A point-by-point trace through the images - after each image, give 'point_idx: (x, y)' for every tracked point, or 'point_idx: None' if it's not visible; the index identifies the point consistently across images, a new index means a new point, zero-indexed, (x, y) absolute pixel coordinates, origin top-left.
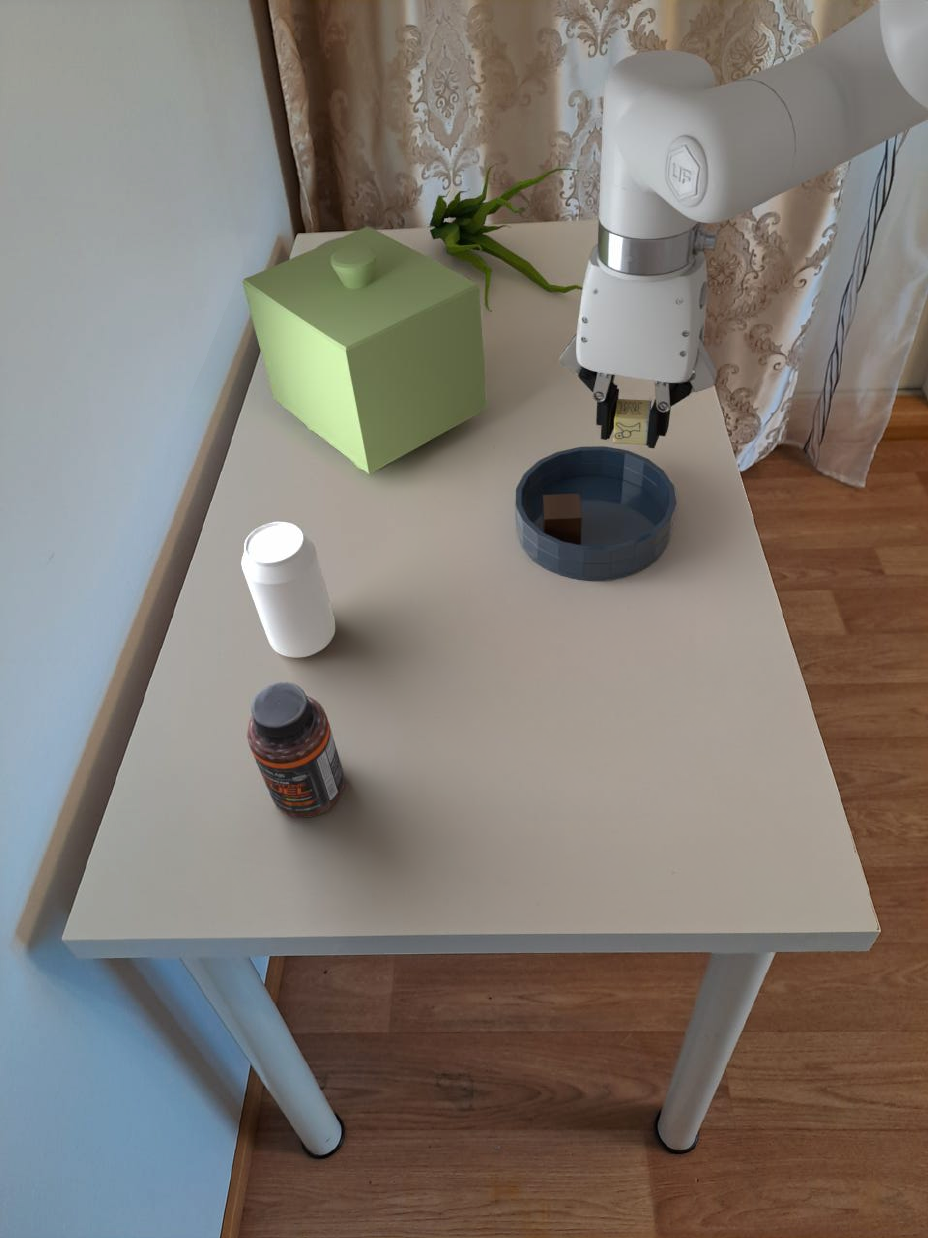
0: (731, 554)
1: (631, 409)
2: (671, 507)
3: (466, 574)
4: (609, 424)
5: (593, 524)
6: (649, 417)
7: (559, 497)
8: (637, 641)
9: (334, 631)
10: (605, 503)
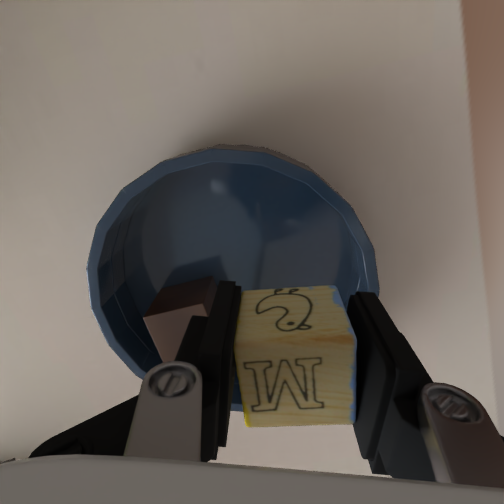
0: (450, 285)
1: (292, 389)
2: None
3: (100, 381)
4: (232, 392)
5: (237, 280)
6: (359, 448)
7: (172, 318)
8: (328, 433)
9: None
10: (245, 227)
